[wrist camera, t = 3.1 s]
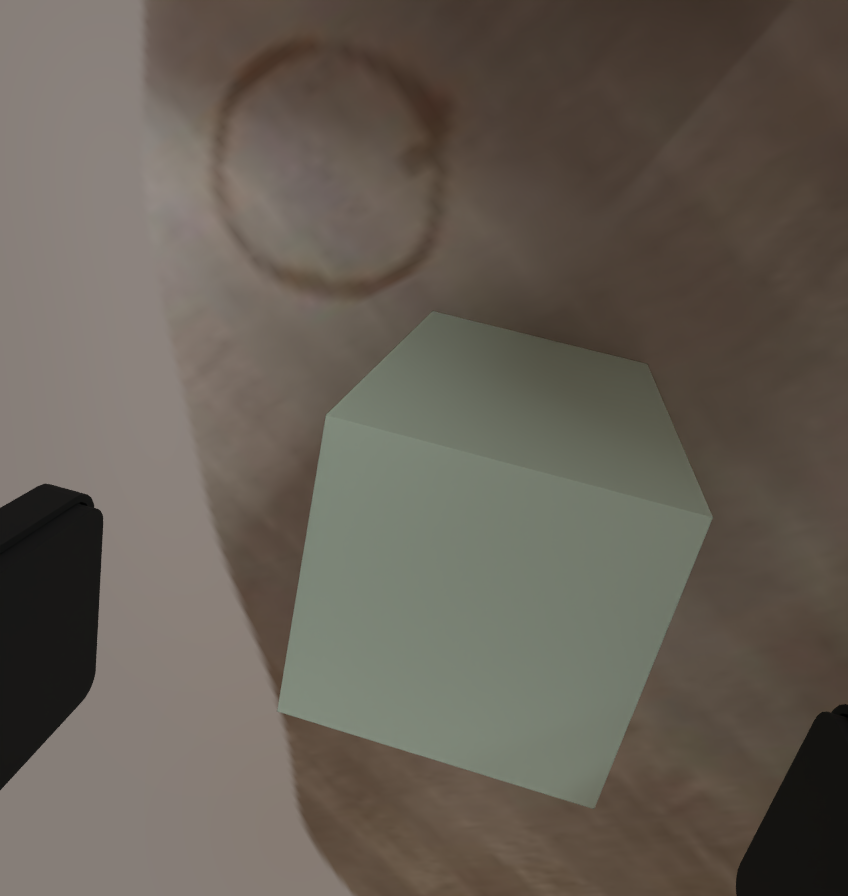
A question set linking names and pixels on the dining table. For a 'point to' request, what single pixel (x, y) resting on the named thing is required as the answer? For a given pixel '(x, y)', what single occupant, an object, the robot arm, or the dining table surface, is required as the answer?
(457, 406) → the sage block
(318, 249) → the dining table surface
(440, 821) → the dining table surface
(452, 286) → the dining table surface
